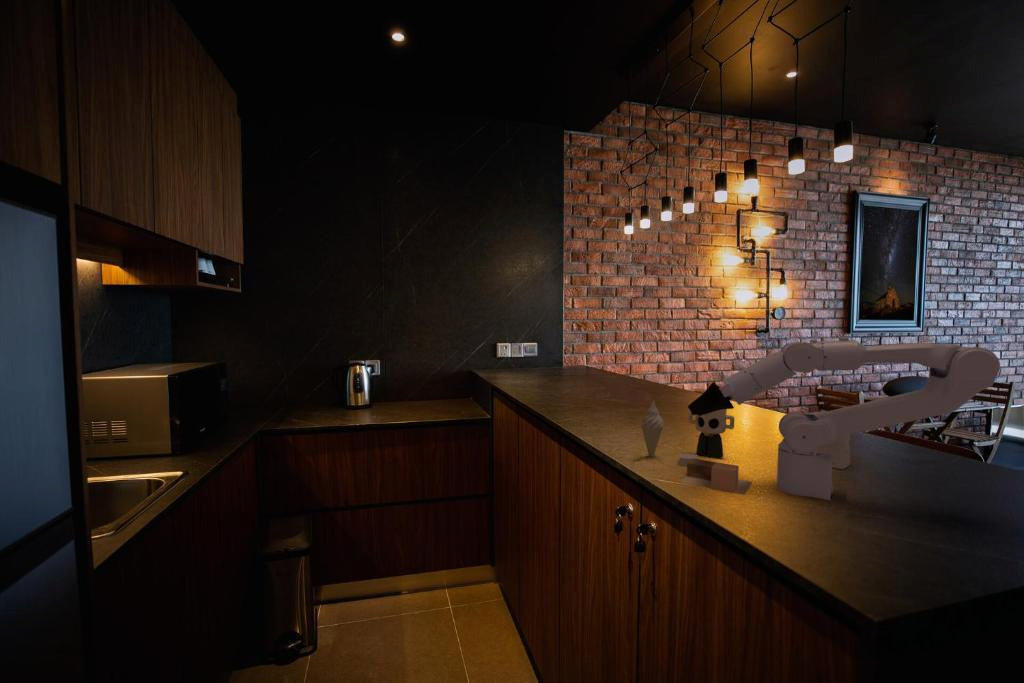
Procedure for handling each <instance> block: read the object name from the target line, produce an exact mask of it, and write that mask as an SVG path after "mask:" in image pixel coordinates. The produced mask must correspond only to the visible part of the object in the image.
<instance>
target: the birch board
mask: <svg viewBox="0 0 1024 683" xmlns="http://www.w3.org/2000/svg"><path fill="white" fill-rule="evenodd" d="M680 482H681V483H683V484H689V485H692V486H698V487H702V488H708V489H713V488H711V481H710V480H705V479H700V478H695V477H689V476H687V475H686V476H685V477H684V478H683V479H682V480H681V481H680ZM752 483H753V481H749V480H745V479H739V478H738V487H737V489H736V490H735V492H734V494H737V495H738V494H739V495H744V496H745V495H746V493H747V492H748V490H749V489H750V487H751V485H752ZM713 490H714V489H713ZM717 490H718V489H716V491H717ZM718 491H719V490H718ZM721 491H723V490H721ZM726 492H728V491H726ZM728 493H729V492H728ZM731 493H733V492H731Z"/></svg>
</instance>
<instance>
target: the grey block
mask: <svg viewBox="0 0 1024 683" xmlns="http://www.w3.org/2000/svg"><path fill="white" fill-rule="evenodd" d="M692 458H694V459H699V456H698V455H696V454H692V453H691V454H690V453H679V456H678V462H679V463H678V465H679V467H686V468H687V463H688V462H689V461H690V460H691V459H692Z"/></svg>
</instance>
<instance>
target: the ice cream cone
mask: <svg viewBox="0 0 1024 683" xmlns="http://www.w3.org/2000/svg"><path fill="white" fill-rule="evenodd" d="M646 413H647V414H646V415H644V416H643V418H642V425H641V429H642V434H643V437H644V438H643V439H644V442H645V445H646V449H647V453H648V457H650V458H654V457H655V453H656V450H657V447H658V445H659V444H658V443H659V441H660V437H661V434H662V431H663V429H664V428H663V427H664V419H663V418H662V417H661V416H660V414H659V409H658V407H657V405H656V403H655V400H654V399H652V401H651V403H650V406H649V407H648V410H647V411H646Z"/></svg>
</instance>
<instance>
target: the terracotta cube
mask: <svg viewBox="0 0 1024 683" xmlns="http://www.w3.org/2000/svg"><path fill="white" fill-rule="evenodd" d="M715 462H716V463H715V464H714V465H713V466H712V474H711V488H710V489H712V488H713V490H717V489H718V491H722V490H723V491H724V492H727V491H728V493H732V492H733V493H734V492H735V490H736V489H737V487H738V479H739V472H740V469H739V468H740V467H739V465H735V464H729V463H724V462H718V461H715ZM734 494H735V493H734Z"/></svg>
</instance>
